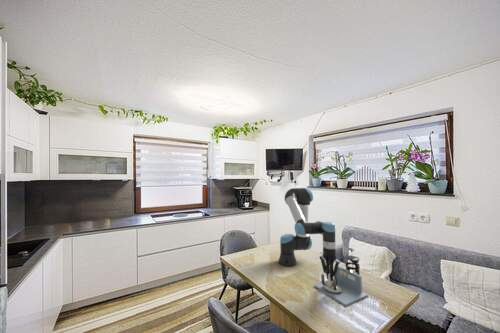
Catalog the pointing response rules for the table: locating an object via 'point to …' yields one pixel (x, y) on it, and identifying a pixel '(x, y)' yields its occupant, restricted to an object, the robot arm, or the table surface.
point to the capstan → (335, 287)
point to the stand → (346, 287)
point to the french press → (353, 263)
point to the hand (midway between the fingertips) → (330, 285)
